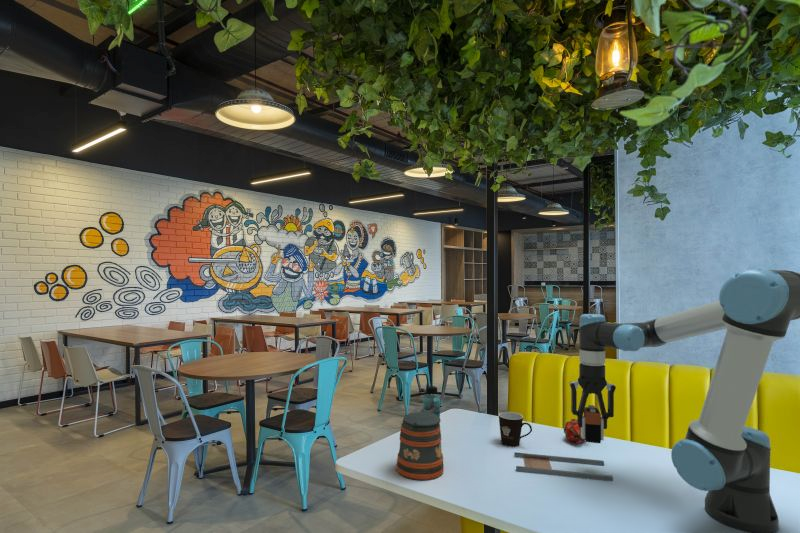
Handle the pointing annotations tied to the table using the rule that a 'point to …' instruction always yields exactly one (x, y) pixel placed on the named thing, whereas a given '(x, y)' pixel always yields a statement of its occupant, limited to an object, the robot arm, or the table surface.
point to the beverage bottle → (436, 400)
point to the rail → (543, 466)
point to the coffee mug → (511, 428)
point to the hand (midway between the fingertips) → (592, 438)
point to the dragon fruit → (573, 432)
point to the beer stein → (421, 445)
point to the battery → (592, 424)
